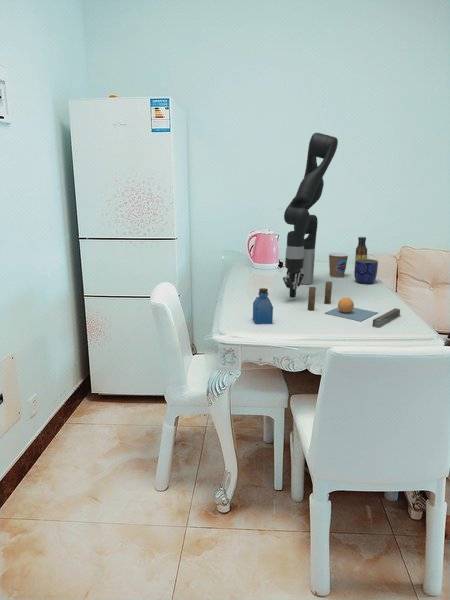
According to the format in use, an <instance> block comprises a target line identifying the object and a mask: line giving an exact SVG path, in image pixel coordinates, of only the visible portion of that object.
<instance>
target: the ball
mask: <svg viewBox="0 0 450 600" xmlns="http://www.w3.org/2000/svg"><path fill="white" fill-rule="evenodd" d="M337 308H339V310H340V311H341V312H343V313H349V312H351V311H352V310H353V308H355V304H354V301H353V299H352V298H349V297H342V298H341V299H340V300H338V303H337Z"/></svg>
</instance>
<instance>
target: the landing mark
mask: <svg viewBox="0 0 450 600" xmlns="http://www.w3.org/2000/svg"><path fill="white" fill-rule="evenodd" d="M324 314H325V315H330V316H334V317H338V318H342V319H346V320H347V319H348V320H353V321H356V322H360V323H361V322H363V321H365V320H367V319H369V318H371V317H373V316H375V315H377V314H379V312H377V311H373V310H368V309H363V308H358V307H354V308H353V310H352V311H351V312H349V313H343V312H341V311H340V310H339V308H338V307H335V308H333V309H331V310H328V311H325V312H324Z"/></svg>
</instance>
